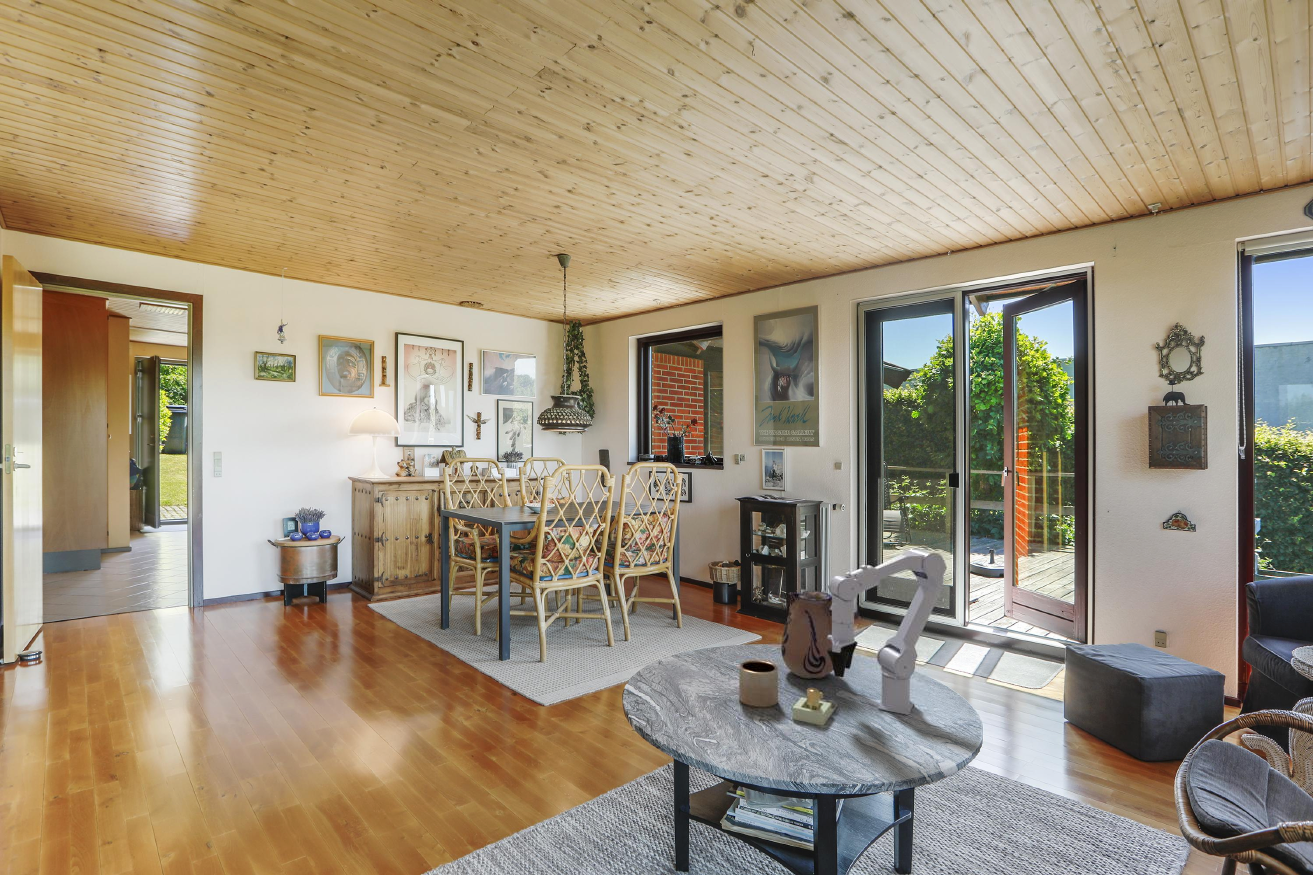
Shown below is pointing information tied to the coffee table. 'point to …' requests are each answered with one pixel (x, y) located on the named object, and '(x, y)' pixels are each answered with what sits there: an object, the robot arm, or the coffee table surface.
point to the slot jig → (814, 711)
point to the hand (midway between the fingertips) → (842, 672)
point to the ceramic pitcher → (808, 635)
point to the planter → (758, 683)
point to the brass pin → (813, 699)
